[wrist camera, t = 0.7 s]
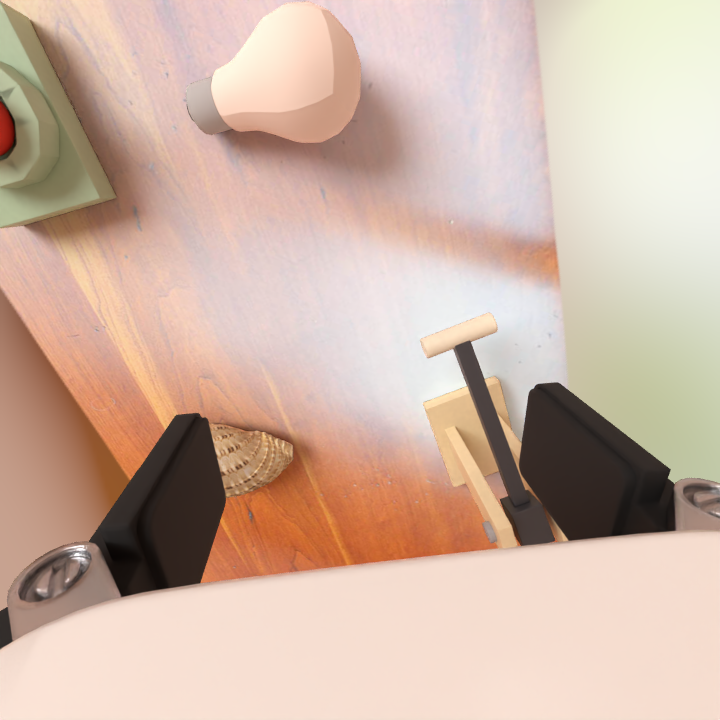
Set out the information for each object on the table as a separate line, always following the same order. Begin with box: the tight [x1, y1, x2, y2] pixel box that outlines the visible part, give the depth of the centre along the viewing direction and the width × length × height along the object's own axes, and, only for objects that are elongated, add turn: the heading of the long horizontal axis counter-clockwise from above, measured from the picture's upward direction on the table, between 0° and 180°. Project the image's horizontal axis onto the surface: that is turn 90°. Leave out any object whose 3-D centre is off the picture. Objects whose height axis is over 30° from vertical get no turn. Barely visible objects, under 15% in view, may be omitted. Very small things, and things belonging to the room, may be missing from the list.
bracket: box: [423, 376, 568, 548], centre depth 31 cm, size 10×7×13 cm
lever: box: [420, 313, 555, 546], centre depth 27 cm, size 16×5×2 cm, turn 21°
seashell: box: [209, 423, 293, 498], centre depth 33 cm, size 8×6×10 cm
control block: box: [0, 1, 117, 228], centre depth 22 cm, size 10×7×4 cm
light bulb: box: [186, 1, 361, 143], centre depth 22 cm, size 7×7×11 cm
